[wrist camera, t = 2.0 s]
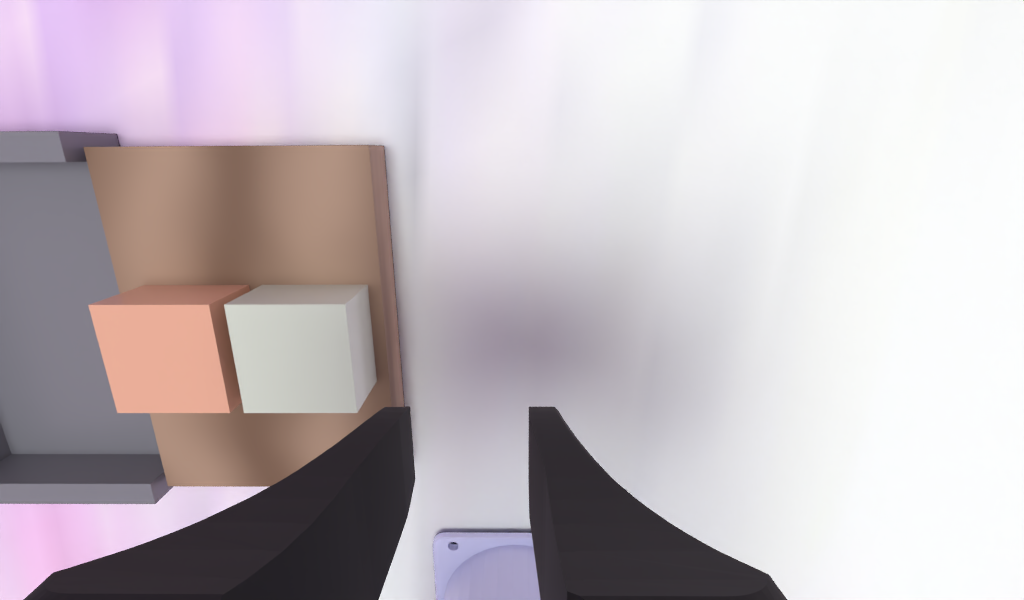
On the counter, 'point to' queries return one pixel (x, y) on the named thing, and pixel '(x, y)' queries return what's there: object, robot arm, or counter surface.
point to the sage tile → (303, 348)
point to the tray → (61, 336)
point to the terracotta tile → (169, 348)
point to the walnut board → (253, 273)
